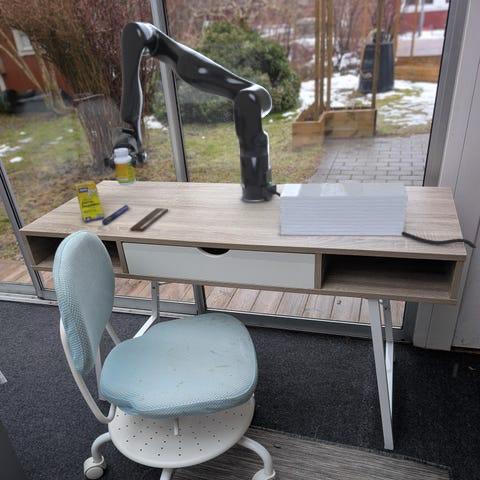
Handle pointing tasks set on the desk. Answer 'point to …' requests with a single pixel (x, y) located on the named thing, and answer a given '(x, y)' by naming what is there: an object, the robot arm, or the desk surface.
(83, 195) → the supplement box
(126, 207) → the pen
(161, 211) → the dark brown flat bar
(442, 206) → the desk surface
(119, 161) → the supplement bottle
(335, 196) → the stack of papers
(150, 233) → the desk surface
